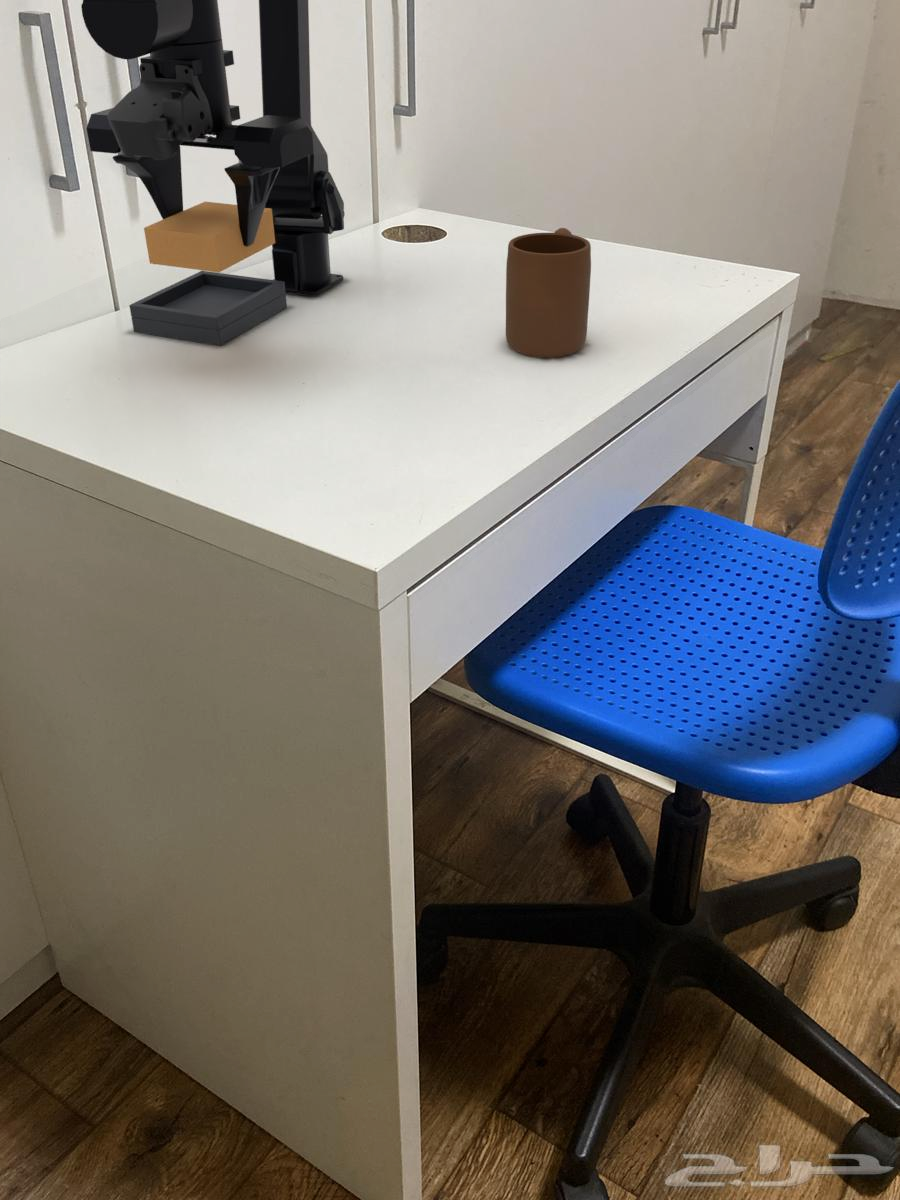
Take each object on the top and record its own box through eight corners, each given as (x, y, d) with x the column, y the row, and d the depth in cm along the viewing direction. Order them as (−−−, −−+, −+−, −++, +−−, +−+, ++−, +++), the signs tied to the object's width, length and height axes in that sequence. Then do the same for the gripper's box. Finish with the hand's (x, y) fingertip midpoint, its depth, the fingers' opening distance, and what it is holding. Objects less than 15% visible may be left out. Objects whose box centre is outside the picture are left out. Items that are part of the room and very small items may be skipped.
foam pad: (209, 235, 100) (204, 201, 98) (275, 243, 97) (272, 208, 96) (149, 263, 93) (143, 227, 91) (219, 272, 91) (214, 236, 89)
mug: (525, 313, 110) (527, 217, 105) (600, 319, 108) (606, 222, 103) (496, 355, 100) (497, 251, 95) (578, 362, 99) (584, 257, 93)
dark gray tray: (205, 295, 116) (201, 270, 115) (287, 307, 113) (284, 281, 111) (133, 332, 107) (128, 304, 105) (220, 345, 103) (216, 318, 102)
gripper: (20, 49, 83) (64, 256, 92) (229, 60, 77) (255, 281, 85) (113, 30, 91) (145, 221, 100) (308, 39, 85) (324, 242, 94)
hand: (212, 241), depth 95 cm, fingers closed on foam pad, 7 cm apart
